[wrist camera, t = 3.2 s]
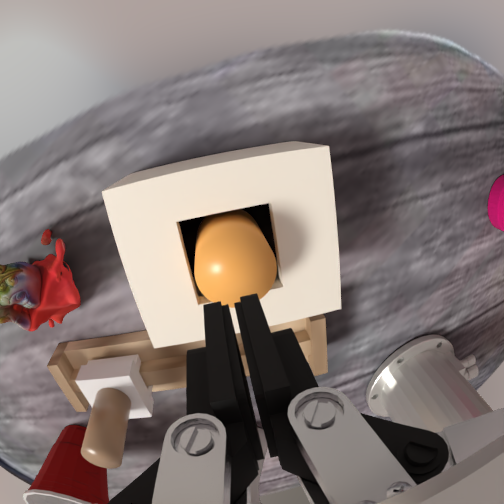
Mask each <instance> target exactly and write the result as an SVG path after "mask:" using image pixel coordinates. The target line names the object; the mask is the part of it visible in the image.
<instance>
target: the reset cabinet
mask: <svg viewBox="0 0 504 504" xmlns="http://www.w3.org/2000/svg"><path fill="white" fill-rule="evenodd" d="M102 195H103V198H104V202H105V206H106V210H107V213H108V217H109V220H110V224H111V227H112V231H113V234H114V238H115V241H116V244H117V247H118V251H119V254H120V257H121V260H122V263H123V266H124V269H125V272H126V275H127V278H128V281H129V284H130V287H131V290H132V292H133V295H134V298H135V301H136V303H137V306H138V309H139V311H140V314H141V317H142V319H143V322H144V325H145V327H146V330H147V332H148V335H149V337H150V340H151V342H152V344H153V347H154V348H160V347H166V346H172V345H178V344H184V343H189V342H195V341H200V340H205V329H204V311H203V305H204V304H209V303H213V302H212V301H210V300H209V299H207V298H206V297H205V296H204V295H203V294H202V292H201V291H200V290H199V288H198V286H197V283H196V280H195V278H193V276H192V272H191V268H190V264H189V261H188V257H187V253H186V249H185V245H184V241H183V237H182V233H181V229H180V225H179V221H183V220H188V219H192V218H197V217H202V216H207V215H211V214H216V213H221V212H226V211H231V210H236V209H241V208H246V207H251V206H256V205H262V204H267V203H268V204H269V210H270V217H271V223H272V230H273V237H274V243H275V250H276V257H277V261H276V263H277V274H276V278H275V281H274V284H273V285H272V287H271V289H270V290H269V292H268V293H267V294H266V295H265V296H264V297H263V298H261V299H260V303H261V306H262V309H263V311H264V314H265V317H266V320H267V323H268V326H273V325H278V324H282V323H286V322H291V321H295V320H299V319H303V318H307V317H311V316H315V315H319V314H323V313H327V312H331V311H335V310H339V309H341V286H340V264H339V247H338V232H337V219H336V207H335V196H334V186H333V177H332V168H331V159H330V151H329V146H326V145H319V144H313V143H305V142H298V141H290V142H283V143H277V144H270V145H264V146H258V147H252V148H246V149H240V150H235V151H229V152H224V153H219V154H214V155H209V156H204V157H199V158H194V159H189V160H185V161H180V162H176V163H172V164H167V165H163V166H159V167H155V168H151V169H147V170H143V171H139V172H135V173H131V174H129V175H128V176H126V177H124V178H123V179H121V180H119V181H118V182H116V183H114V184H113V185H111V186H109V187H108V188H106V189H105V190H103V191H102ZM229 309H230V313H231V317H232V321H233V325H234V329H235V334H236V333H240V329H239V324H238V320H237V315H236V310H235V308H230V307H229Z"/></svg>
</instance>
